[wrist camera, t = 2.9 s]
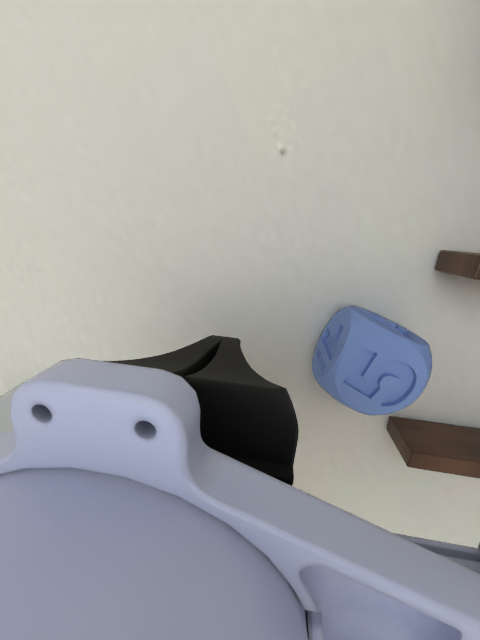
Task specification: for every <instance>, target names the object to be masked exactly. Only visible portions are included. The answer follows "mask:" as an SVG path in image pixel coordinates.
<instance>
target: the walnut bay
mask: <svg viewBox="0 0 480 640" xmlns="http://www.w3.org/2000/svg"><path fill="white" fill-rule="evenodd" d="M435 270H438V271H442V272H446V273H450V274H455V275H459V276H463V277H467V278H471V279H477V280H480V253H470V252H458V251H447V250H442V251H440V254H439V257H438V260H437V264H436V267H435ZM387 431H388V433H389V434H390V436H391V438H392V440H393V442H394V443H395V445H396V447H397V449H398V451H399V452H400V454H401V456H402V458H403V459H404V461H405V463H406V465H407V466H408V467H412V468H418V469H424V470H430V471H437V472H443V473H449V474H456V475H462V476H468V477H475V478H480V429H476V428H469V427H462V426H455V425H448V424H441V423H434V422H427V421H420V420H412V419H405V418H398V417H390V419H389V422H388V425H387Z"/></svg>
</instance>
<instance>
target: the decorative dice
mask: <svg viewBox="0 0 480 640" xmlns="http://www.w3.org/2000/svg"><path fill="white" fill-rule="evenodd" d="M431 369H432V355H431V351H430V347H429V344H428V343H427V342H426V341H425V340H423V339H422V338H420V337H419V336H417V335H416V334H414V333H412V332H411V331H409V330H407V329H405V328H404V327H402V326H400V325H398V324H396V323H394V322H392V321H390V320H388V319H386V318H384V317H382V316H380V315H377V314H375V313H373V312H371V311H368V310H365V309H363V308H360V307H356V306H350V307H347V308H344V309H341V310H340V311H338V312H337V313H336V314H335V315H334V316H333V317H332V319H331V320H330V321H329V323H328V324H327V326H326V327H325V329H324V331H323V333H322V335H321V337H320V339H319V341H318V344H317V346H316V349H315V353H314V357H313V363H312V371H313V374H314V377H315V379H316V381H317V382H318V383H319V385H320V386H321V387H322V388H323V389H324V390H325V391H326V392H327V393H328V394H330V395H331V396H332V397H333V398H335V399H336V400H338V401H339V402H341V403H342V404H344V405H346V406H347V407H349V408H351V409H353V410H355V411H358V412H360V413H363V414H367V415H385V414H390V413H394V412H396V411H399V410H401V409H403V408H405V407H407V406H409V405H410V404H411V403H413V402H414V401H415V400H416V399H417V398H418V397H419V396H420V394H421V393H422V392H423V390H424V388H425V387H426V385H427V382H428V380H429V377H430V374H431Z"/></svg>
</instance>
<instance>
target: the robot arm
mask: <svg viewBox="0 0 480 640" xmlns="http://www.w3.org/2000/svg"><path fill="white" fill-rule="evenodd" d="M240 342H241V341H240V340H239V339H238V338H230V337H222V336H214V335H212V336H209V337H207V338H204V339H202V340H200V341H198V342H196V343H194V344H191V345H189V346H186V347H184V348H181V349H179V350H176V351H173V352H170V353H166V354H163V355H159V356H154V357H148V358H142V359H135V360H124V361H97V360H89V359H82V358H76V359H68V360H61V361H60V362H58V363H56V364H55V365H53V366H51V367H50V368H48V369H46V370H45V371H43V372H41V373H39V374H38V375H36V376H34V377H33V378H31V379H29V380H28V381H26V382H24V383H23V384H22V385H21V386H20V387H19V388H18V389H17V390H16V391H15V392H14V393H13V394H12V402H11V420H12V424H13V429H14V430H10V431H4V432H0V640H480V543H479V547H478V548H473V547H467V546H462V545H456V544H451V543H445V542H440V541H434V540H428V539H423V538H417V537H412V536H406V535H401V534H395V533H391V532H389V531H387V530H385V529H383V528H381V527H379V526H376V525H374V524H372V523H370V522H368V521H366V520H364V519H361V518H359V517H357V516H355V515H353V514H351V513H349V512H346V511H344V510H342V509H340V508H338V507H336V506H334V505H331V504H329V503H327V502H325V501H323V500H321V499H319V498H316V497H314V496H312V495H310V494H308V493H306V492H304V491H301V490H299V489H297V488H295V487H293V486H292V484H293V478H294V475H293V463H294V457H295V452H296V446H297V441H298V422H297V418H296V414H295V410H294V407H293V404H292V401H291V399H290V396H289V394H288V392H287V390H286V388H283V387H281V386H278V385H276V384H273V383H271V382H269V381H267V380H266V379H264V378H262V377H261V376H260V375H258V374H257V373H256V372H255V371H254V370H253V369H252V368H251V367H250V366H249V364H248V363H247V361H246V359H245V358H244V356H243V353H242V351H241V347H240Z"/></svg>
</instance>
